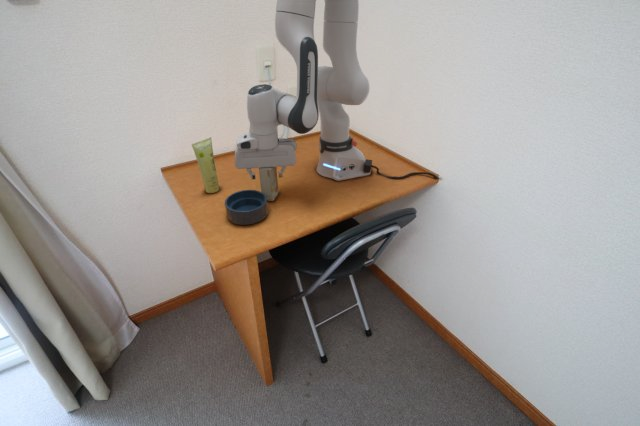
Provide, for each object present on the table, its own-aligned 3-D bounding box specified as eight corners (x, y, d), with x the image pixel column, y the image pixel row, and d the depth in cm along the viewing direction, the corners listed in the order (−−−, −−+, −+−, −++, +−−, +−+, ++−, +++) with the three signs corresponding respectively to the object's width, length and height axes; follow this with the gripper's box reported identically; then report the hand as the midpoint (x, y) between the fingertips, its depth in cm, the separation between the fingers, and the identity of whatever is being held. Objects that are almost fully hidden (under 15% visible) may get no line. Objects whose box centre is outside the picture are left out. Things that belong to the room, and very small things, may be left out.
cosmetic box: (273, 201, 110) (270, 170, 103) (261, 200, 111) (258, 169, 104) (279, 192, 115) (276, 162, 109) (267, 191, 116) (264, 160, 109)
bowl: (267, 201, 110) (265, 188, 107) (269, 223, 100) (267, 209, 97) (228, 205, 108) (225, 191, 105) (226, 228, 98) (223, 213, 94)
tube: (217, 194, 114) (207, 143, 103) (203, 194, 114) (191, 143, 103) (220, 186, 119) (211, 137, 107) (207, 186, 118) (196, 137, 107)
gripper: (295, 134, 105) (295, 171, 113) (232, 137, 102) (237, 175, 109) (297, 141, 100) (298, 180, 108) (231, 144, 96) (237, 184, 104)
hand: (267, 177), depth 108 cm, fingers open, 8 cm apart
